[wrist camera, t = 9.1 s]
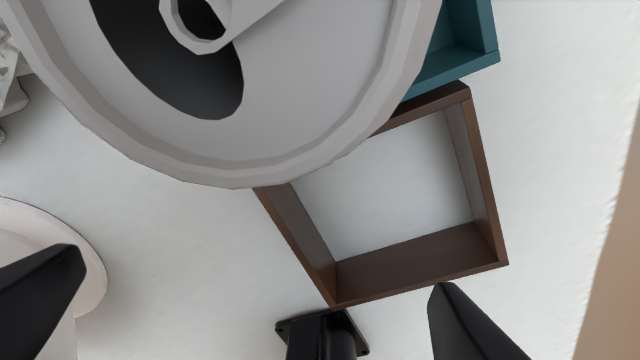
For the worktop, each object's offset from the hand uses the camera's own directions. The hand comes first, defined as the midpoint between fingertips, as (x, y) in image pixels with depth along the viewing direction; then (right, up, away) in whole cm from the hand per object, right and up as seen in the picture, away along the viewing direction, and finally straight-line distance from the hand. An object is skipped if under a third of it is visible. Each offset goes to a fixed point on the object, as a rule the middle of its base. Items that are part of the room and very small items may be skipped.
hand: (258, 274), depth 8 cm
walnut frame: (+5, +2, +12) cm, 13 cm away
